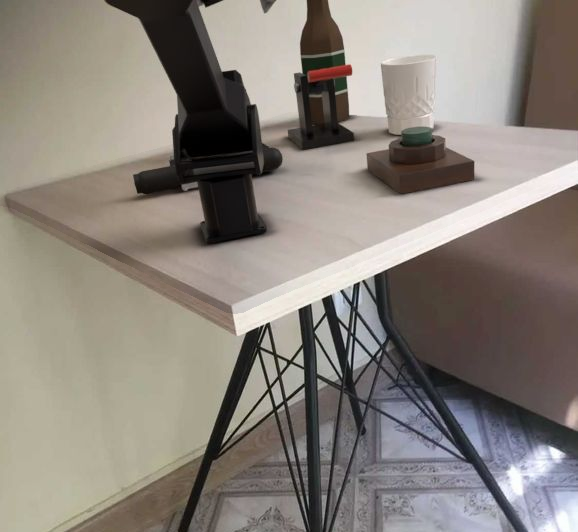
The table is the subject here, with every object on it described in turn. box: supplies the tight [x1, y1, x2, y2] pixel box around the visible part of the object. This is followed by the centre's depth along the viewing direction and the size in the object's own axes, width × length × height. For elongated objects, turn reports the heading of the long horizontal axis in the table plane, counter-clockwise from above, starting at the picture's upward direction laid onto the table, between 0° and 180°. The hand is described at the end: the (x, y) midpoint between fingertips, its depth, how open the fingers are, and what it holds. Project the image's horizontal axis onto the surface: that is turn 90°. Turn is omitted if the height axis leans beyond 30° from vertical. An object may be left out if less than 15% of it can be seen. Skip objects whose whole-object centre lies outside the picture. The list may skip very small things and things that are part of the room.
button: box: [400, 127, 433, 146], centre depth 82 cm, size 4×4×2 cm
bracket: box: [287, 68, 355, 151], centre depth 106 cm, size 10×8×10 cm
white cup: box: [380, 54, 437, 136], centre depth 103 cm, size 8×8×10 cm
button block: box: [365, 134, 475, 195], centre depth 84 cm, size 12×9×4 cm
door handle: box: [132, 142, 284, 195], centre depth 97 cm, size 3×20×16 cm
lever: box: [307, 63, 353, 95], centre depth 100 cm, size 12×6×2 cm, turn 13°
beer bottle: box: [299, 0, 350, 125], centre depth 114 cm, size 8×8×24 cm
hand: (231, 23), depth 90 cm, fingers open, 9 cm apart
